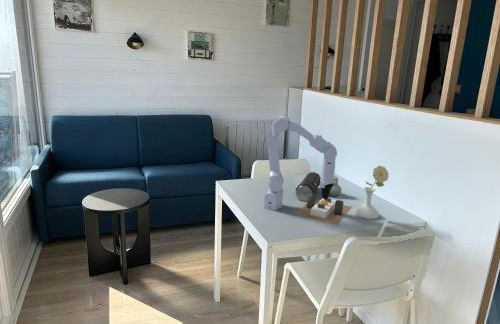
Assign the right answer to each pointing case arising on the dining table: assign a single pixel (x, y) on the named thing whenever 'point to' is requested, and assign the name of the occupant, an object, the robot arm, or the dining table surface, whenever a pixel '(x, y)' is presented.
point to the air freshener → (335, 188)
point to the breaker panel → (330, 217)
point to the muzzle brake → (308, 186)
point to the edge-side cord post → (338, 207)
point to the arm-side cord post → (310, 201)
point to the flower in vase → (367, 209)
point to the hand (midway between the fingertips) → (325, 198)
